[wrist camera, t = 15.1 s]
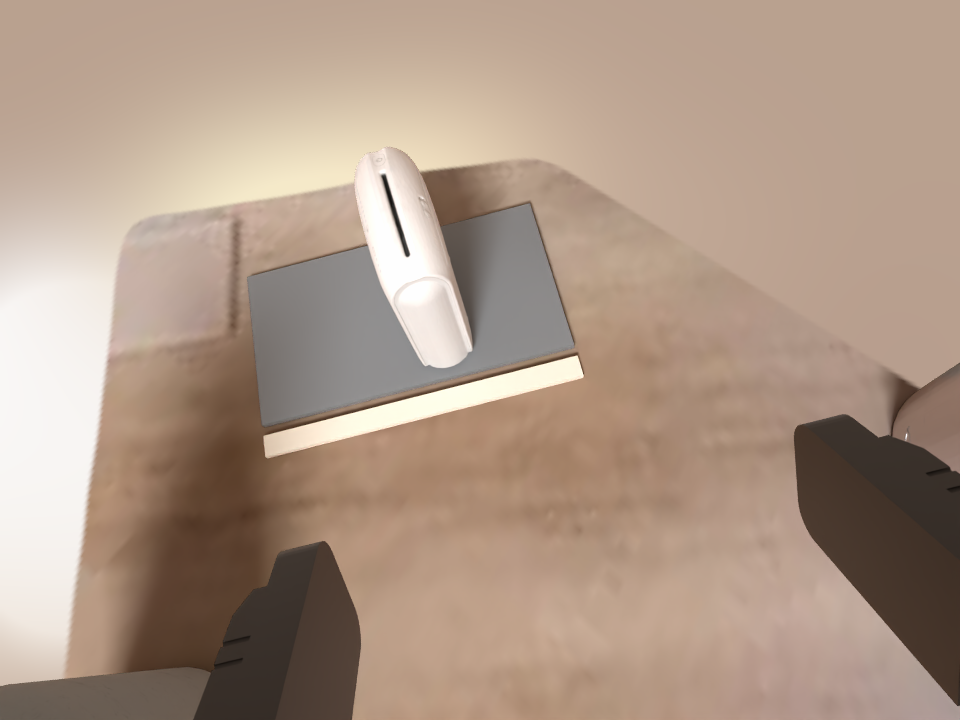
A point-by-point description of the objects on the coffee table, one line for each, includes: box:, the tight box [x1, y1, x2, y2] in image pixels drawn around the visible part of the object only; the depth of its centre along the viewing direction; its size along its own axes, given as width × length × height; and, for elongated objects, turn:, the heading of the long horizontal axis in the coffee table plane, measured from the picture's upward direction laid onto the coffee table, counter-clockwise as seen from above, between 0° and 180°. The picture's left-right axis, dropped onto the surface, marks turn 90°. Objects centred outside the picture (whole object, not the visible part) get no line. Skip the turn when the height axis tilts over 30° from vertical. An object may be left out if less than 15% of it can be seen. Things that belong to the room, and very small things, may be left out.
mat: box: [247, 203, 584, 458], centre depth 47 cm, size 22×14×1 cm, turn 103°
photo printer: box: [355, 147, 473, 368], centre depth 41 cm, size 10×4×12 cm, turn 17°
